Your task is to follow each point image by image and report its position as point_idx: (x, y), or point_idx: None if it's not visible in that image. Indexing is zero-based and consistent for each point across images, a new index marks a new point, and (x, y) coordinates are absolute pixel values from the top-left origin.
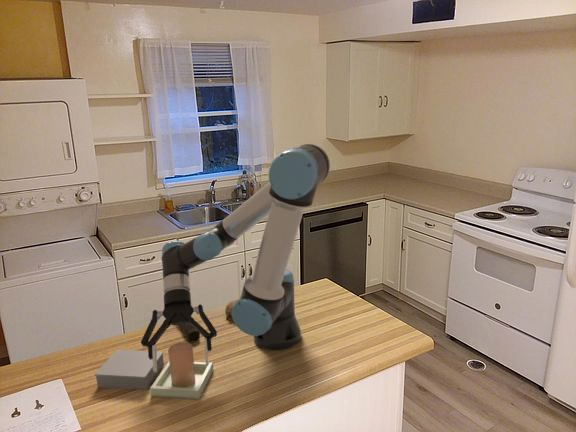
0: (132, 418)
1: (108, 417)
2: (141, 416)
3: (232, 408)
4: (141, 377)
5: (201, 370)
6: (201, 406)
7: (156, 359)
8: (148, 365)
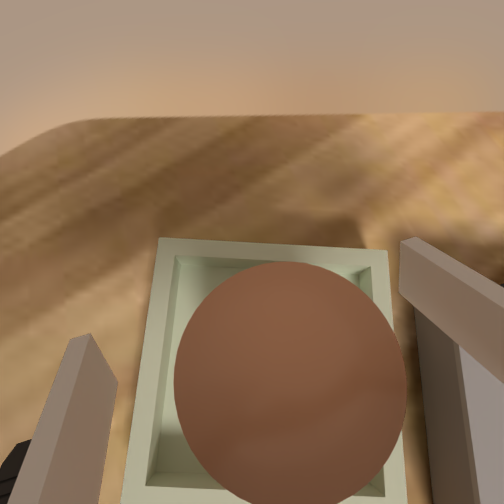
0: (378, 149)
1: (462, 152)
2: (352, 158)
3: (26, 204)
4: None
5: (198, 472)
6: (149, 212)
7: (453, 328)
8: (496, 400)
